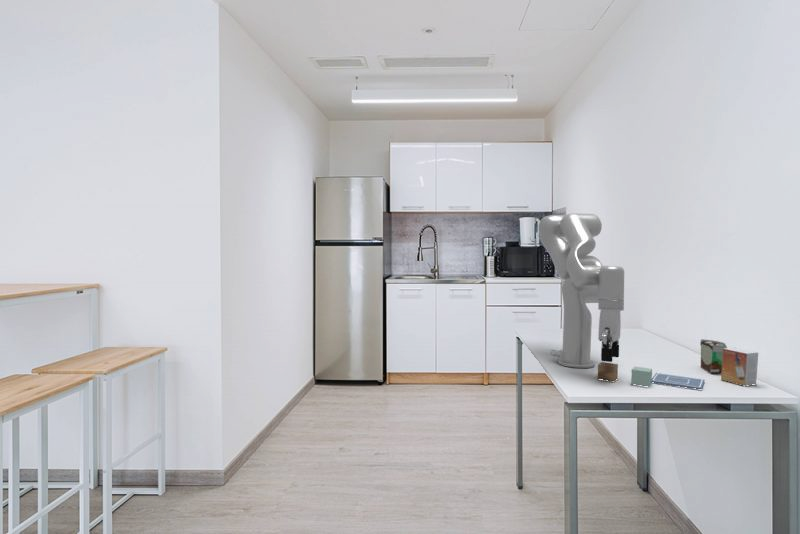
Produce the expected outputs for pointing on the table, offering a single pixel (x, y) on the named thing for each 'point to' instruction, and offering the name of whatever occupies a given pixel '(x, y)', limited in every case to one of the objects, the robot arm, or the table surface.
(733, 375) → the small box
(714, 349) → the food container
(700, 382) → the board
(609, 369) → the walnut block
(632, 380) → the sage block
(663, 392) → the table surface
